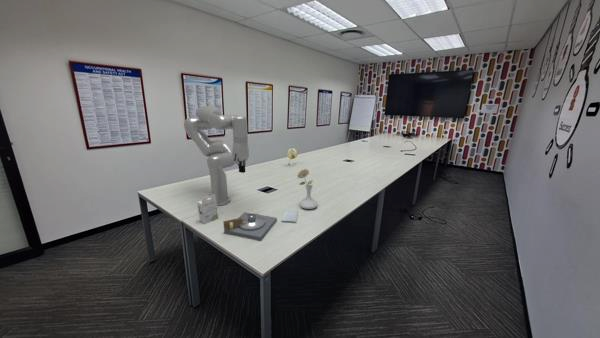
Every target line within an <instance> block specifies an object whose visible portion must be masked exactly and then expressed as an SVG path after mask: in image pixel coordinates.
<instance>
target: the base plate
mask: <svg viewBox="0 0 600 338" xmlns="http://www.w3.org/2000/svg"><path fill="white" fill-rule="evenodd" d="M249 214H253V212H252V213H251V212H243V213H242V214H241V215H239V216H238V217H237V218H241V217H243V216H246V215H249ZM256 214H257V213H256ZM257 215H259V214H257ZM260 215H261V216H263V217H264V218H265V225H264V226H263V227H261V228H259V229H256V230H243V229H241V228H239V227H237V228H233V222H230V229H228V230H224V229H223V234H225V235H230V236H235V237H239V238H245V239H251V240H254V241H259V242H261V241H262V240H263V239H264V237H266V235H267V234H268V233H269V232H270V231H271V229H273V227H274V225H276V223H277V222H278V218H277V217H275V216H268V215H262V214H260Z"/></svg>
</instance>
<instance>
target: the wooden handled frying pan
mask: <svg viewBox="0 0 600 338" xmlns="http://www.w3.org/2000/svg"><path fill="white" fill-rule="evenodd" d="M261 215H262V214H258V215H257V213H252V214H249V215H246V216H243V217H241V218H238V217H237V218H233V219H229V220H224V221H223V223H222V224H223V231H224V230H228V229H230V222H233V228H237V227H239V228H241V229H243V230H256V229H259V228H261V227H263V226H264V225H265V218H264V217H263V216H261Z"/></svg>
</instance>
